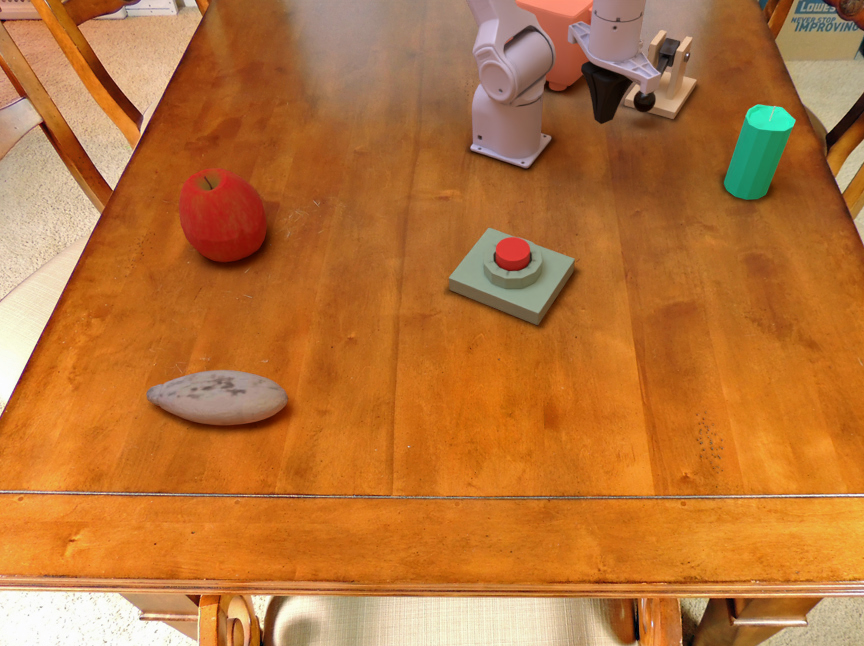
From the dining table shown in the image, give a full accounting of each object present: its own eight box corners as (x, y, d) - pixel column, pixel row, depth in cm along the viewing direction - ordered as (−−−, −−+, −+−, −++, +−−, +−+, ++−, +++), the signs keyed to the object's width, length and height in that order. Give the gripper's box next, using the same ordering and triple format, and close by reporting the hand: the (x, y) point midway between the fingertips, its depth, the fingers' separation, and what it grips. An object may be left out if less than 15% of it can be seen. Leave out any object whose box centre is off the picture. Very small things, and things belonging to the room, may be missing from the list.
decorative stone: (161, 380, 76) (148, 362, 73) (299, 383, 75) (291, 365, 72) (143, 427, 72) (129, 409, 69) (287, 431, 72) (279, 413, 69)
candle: (769, 202, 91) (801, 123, 82) (723, 197, 92) (750, 117, 82) (767, 174, 95) (798, 95, 85) (723, 169, 96) (749, 90, 86)
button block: (449, 290, 83) (447, 266, 80) (488, 239, 88) (488, 215, 85) (537, 325, 79) (539, 302, 76) (573, 271, 84) (576, 247, 81)
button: (489, 264, 80) (489, 253, 79) (505, 243, 82) (505, 232, 81) (519, 276, 79) (520, 265, 78) (535, 254, 81) (535, 243, 80)
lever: (650, 119, 100) (651, 104, 97) (629, 113, 101) (629, 98, 98) (682, 55, 102) (684, 39, 99) (661, 50, 103) (663, 34, 100)
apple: (256, 206, 93) (231, 139, 84) (286, 249, 88) (264, 183, 79) (182, 235, 89) (149, 169, 81) (210, 282, 84) (178, 217, 76)
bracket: (673, 119, 103) (686, 63, 96) (623, 105, 105) (632, 50, 98) (695, 86, 108) (709, 31, 101) (647, 73, 110) (657, 18, 103)
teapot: (470, 66, 112) (467, -25, 101) (511, 33, 118) (513, -57, 107) (587, 108, 105) (598, 14, 93) (625, 70, 111) (640, -23, 99)
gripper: (690, 25, 73) (666, 136, 84) (605, -25, 80) (593, 83, 91) (640, 45, 71) (622, 156, 82) (556, -8, 78) (550, 100, 89)
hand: (603, 119), depth 86 cm, fingers closed
